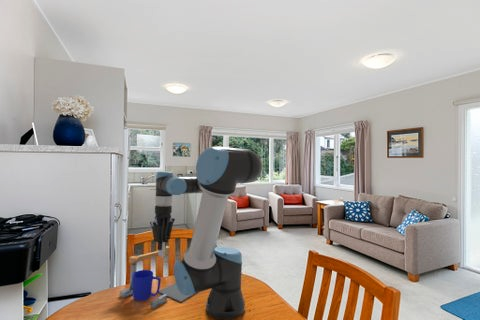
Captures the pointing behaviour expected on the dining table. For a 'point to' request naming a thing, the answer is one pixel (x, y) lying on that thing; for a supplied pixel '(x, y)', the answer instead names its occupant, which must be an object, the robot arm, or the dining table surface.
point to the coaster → (174, 293)
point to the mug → (143, 284)
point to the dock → (129, 290)
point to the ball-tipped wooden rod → (147, 256)
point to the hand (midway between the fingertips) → (161, 256)
